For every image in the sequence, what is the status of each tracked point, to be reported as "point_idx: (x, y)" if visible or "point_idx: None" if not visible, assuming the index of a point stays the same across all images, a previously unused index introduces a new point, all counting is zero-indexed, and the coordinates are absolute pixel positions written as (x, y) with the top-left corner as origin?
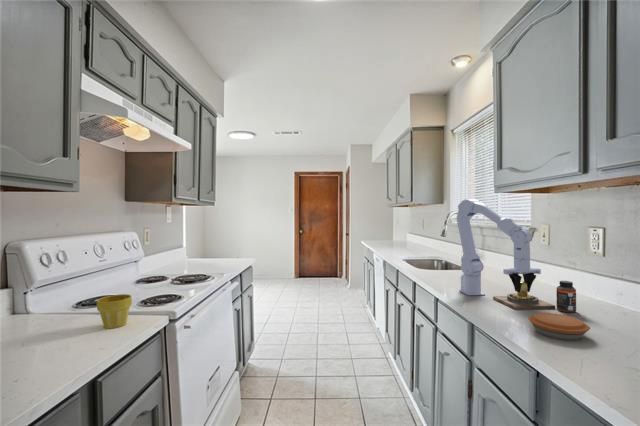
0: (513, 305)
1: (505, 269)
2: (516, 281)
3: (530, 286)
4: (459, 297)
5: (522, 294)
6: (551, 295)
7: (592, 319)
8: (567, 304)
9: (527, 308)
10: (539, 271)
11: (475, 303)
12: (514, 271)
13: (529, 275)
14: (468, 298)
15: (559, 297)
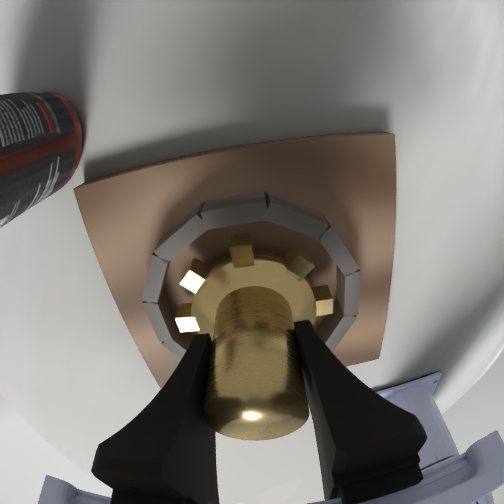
0: (391, 161)
1: (492, 491)
2: (370, 390)
3: (182, 367)
4: (483, 338)
5: (271, 301)
6: (64, 398)
7: (14, 16)
8: (21, 93)
9: (291, 139)
10: (49, 501)
11: (496, 256)
12: (438, 501)
13: (178, 484)
14: (467, 333)
15: (19, 132)
